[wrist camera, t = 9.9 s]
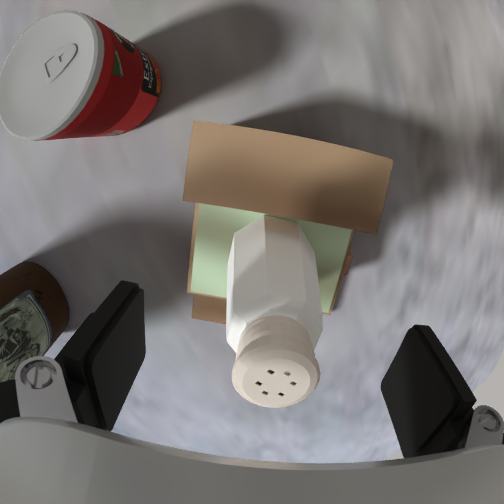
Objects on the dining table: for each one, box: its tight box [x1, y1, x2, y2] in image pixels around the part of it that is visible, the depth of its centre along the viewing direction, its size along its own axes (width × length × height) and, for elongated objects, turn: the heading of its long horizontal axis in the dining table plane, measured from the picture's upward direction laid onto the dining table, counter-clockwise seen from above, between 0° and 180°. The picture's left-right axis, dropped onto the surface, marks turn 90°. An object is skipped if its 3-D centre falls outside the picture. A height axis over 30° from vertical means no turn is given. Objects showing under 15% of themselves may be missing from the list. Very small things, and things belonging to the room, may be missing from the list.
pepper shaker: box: [226, 215, 323, 408], centre depth 14 cm, size 5×5×11 cm
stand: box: [183, 121, 394, 324], centre depth 21 cm, size 15×11×10 cm
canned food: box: [0, 10, 161, 141], centre depth 16 cm, size 8×8×11 cm
